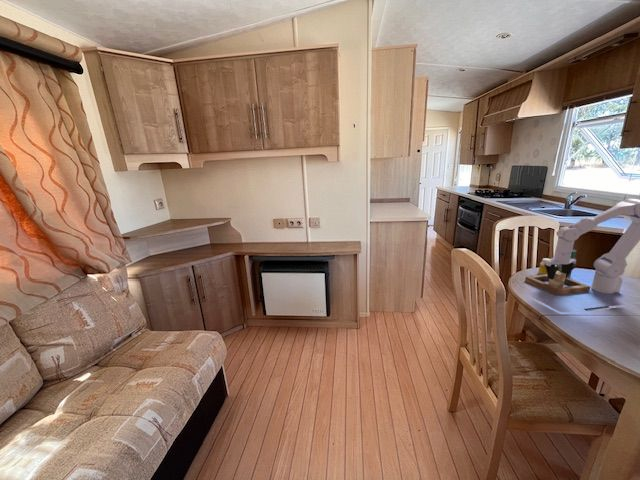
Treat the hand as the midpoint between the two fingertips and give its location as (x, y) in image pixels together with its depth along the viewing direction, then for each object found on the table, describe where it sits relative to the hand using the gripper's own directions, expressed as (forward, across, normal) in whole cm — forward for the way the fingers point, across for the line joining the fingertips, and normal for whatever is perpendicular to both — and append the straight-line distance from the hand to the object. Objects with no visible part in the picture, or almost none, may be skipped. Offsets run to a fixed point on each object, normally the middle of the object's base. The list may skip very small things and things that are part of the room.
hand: (557, 278), depth 127 cm
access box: (+5, 0, 0) cm, 5 cm away
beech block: (+4, 0, 0) cm, 4 cm away
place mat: (+5, +2, +14) cm, 16 cm away
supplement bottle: (+5, -8, -13) cm, 16 cm away
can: (+5, -17, -11) cm, 21 cm away
